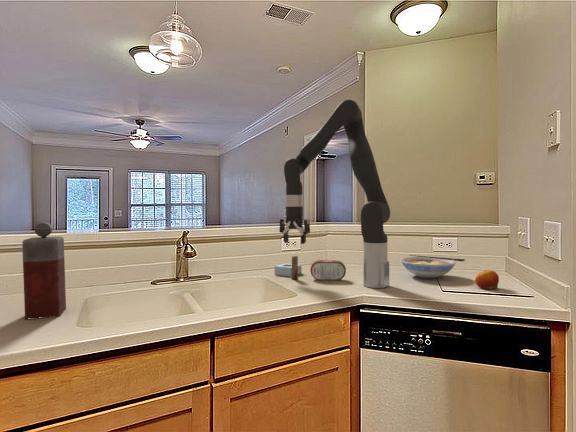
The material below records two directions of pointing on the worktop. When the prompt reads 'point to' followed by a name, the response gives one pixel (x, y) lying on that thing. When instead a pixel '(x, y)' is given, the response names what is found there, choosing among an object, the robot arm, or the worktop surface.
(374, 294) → the worktop surface
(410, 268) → the ramen bowl
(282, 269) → the light blue square box
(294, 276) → the dowel
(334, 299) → the worktop surface
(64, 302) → the decanter
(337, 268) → the tin
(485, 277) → the fruit
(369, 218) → the robot arm
